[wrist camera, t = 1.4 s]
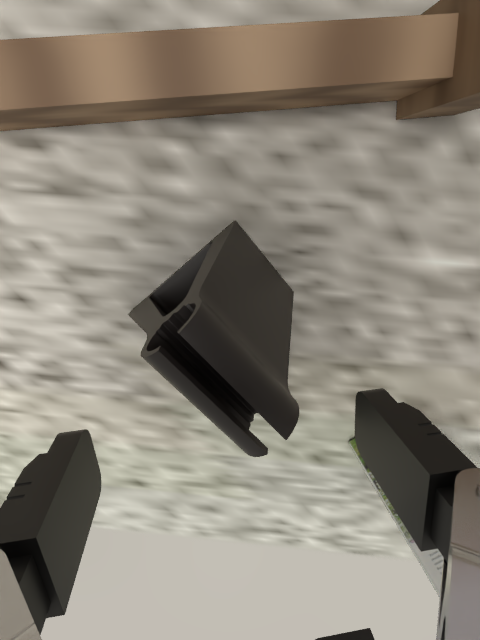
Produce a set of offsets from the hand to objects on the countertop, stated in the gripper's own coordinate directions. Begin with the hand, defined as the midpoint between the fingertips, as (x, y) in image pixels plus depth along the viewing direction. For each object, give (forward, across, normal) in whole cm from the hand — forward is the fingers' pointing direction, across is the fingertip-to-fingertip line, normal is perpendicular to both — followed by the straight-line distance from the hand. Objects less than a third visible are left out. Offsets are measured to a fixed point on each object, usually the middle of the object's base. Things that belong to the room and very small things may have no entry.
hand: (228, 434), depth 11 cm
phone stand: (+14, 0, 0) cm, 14 cm away
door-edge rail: (+14, -2, -12) cm, 19 cm away
